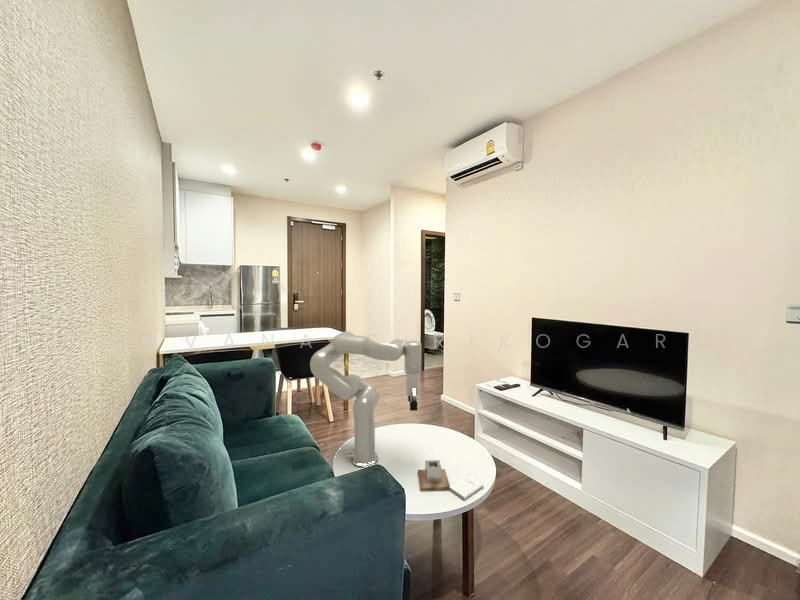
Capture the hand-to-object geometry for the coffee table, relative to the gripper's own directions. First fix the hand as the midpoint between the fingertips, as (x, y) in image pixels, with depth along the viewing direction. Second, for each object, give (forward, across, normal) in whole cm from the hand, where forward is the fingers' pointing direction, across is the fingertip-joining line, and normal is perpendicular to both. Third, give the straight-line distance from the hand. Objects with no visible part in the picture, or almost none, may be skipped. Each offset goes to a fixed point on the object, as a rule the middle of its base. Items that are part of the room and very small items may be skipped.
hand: (412, 405), depth 147 cm
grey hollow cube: (+27, +12, +8) cm, 30 cm away
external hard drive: (+28, +17, +21) cm, 39 cm away
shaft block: (+28, +12, +8) cm, 32 cm away
